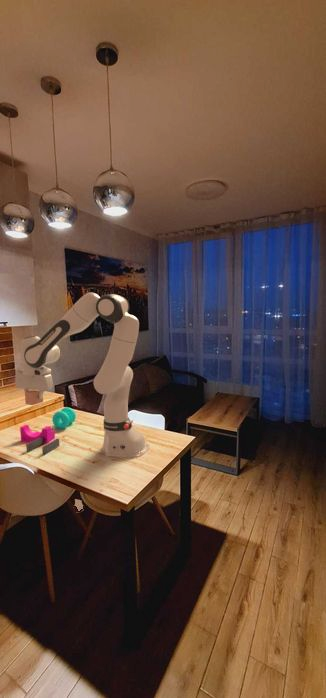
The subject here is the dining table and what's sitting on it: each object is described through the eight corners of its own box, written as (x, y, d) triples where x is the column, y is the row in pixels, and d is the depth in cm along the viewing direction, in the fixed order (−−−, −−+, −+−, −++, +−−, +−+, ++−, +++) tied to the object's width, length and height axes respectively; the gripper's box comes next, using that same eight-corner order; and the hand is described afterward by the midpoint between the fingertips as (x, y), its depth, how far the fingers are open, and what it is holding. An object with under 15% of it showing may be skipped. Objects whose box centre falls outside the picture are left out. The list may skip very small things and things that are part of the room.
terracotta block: (43, 402, 145) (42, 390, 144) (32, 405, 139) (31, 392, 139) (36, 400, 147) (35, 388, 146) (25, 403, 142) (24, 391, 141)
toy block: (54, 438, 152) (53, 424, 151) (47, 443, 146) (46, 429, 145) (29, 436, 155) (28, 423, 154) (21, 441, 149) (20, 427, 148)
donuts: (51, 429, 164) (50, 411, 163) (61, 422, 174) (60, 406, 173) (67, 430, 162) (66, 412, 161) (77, 423, 172) (76, 407, 171)
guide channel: (59, 445, 143) (59, 438, 142) (44, 455, 133) (44, 447, 133) (42, 442, 146) (41, 436, 146) (26, 451, 137) (26, 444, 136)
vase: (72, 507, 219) (71, 495, 218) (82, 504, 222) (82, 492, 221) (74, 513, 212) (73, 500, 211) (85, 510, 216) (84, 497, 215)
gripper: (10, 370, 142) (12, 398, 144) (44, 372, 135) (46, 401, 137) (21, 367, 148) (23, 394, 150) (54, 369, 141) (55, 397, 143)
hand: (34, 397), depth 143 cm, fingers closed on terracotta block, 5 cm apart
